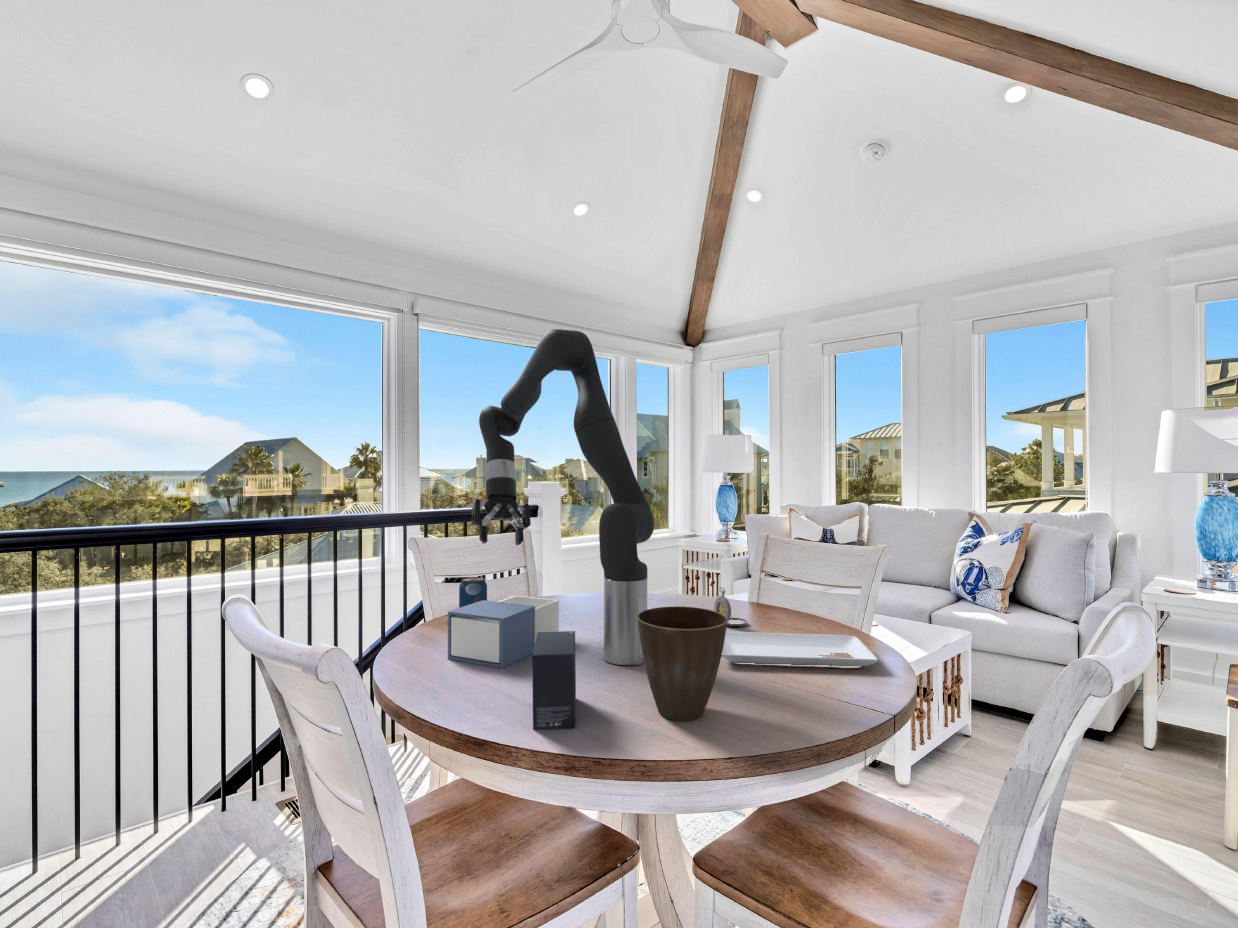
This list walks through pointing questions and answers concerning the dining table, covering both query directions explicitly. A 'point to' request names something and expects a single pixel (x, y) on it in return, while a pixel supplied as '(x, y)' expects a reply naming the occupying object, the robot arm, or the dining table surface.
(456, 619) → the tray
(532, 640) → the mailer sleeve
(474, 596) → the soda can
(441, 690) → the dining table surface
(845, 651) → the tray
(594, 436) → the robot arm
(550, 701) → the small box
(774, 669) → the dining table surface
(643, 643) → the plant pot
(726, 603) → the pocket watch
